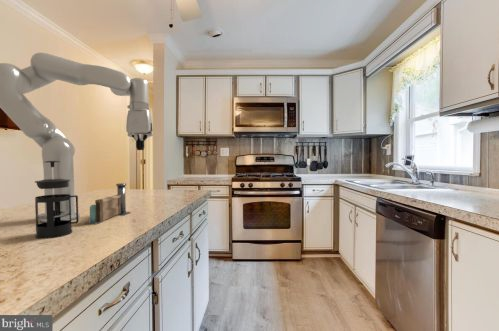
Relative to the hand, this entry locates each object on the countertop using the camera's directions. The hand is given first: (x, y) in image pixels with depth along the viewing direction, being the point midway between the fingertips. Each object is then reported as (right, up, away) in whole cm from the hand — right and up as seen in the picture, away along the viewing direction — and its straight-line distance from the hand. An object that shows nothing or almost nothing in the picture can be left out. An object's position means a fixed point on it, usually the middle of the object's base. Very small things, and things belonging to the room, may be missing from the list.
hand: (140, 149), depth 118 cm
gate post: (-6, -27, -5) cm, 28 cm away
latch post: (-9, -28, -20) cm, 35 cm away
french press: (-13, -29, -34) cm, 46 cm away
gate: (-6, -27, -14) cm, 31 cm away
